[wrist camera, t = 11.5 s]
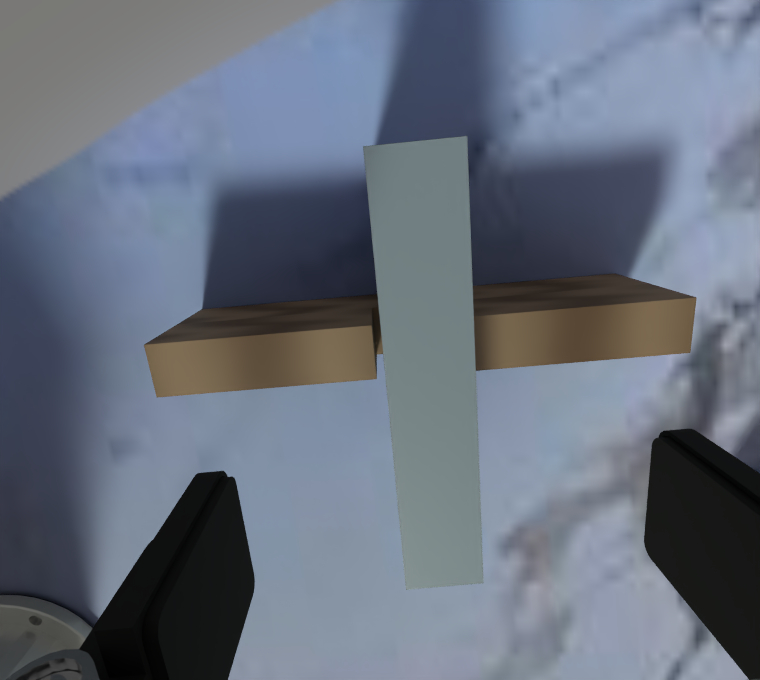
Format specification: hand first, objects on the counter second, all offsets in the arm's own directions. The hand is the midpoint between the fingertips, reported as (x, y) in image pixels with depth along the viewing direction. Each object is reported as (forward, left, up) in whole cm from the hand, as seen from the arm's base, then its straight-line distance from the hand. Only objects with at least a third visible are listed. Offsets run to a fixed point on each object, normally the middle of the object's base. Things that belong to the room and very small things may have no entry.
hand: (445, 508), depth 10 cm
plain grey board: (0, 0, -18) cm, 18 cm away
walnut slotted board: (0, 0, -18) cm, 18 cm away
